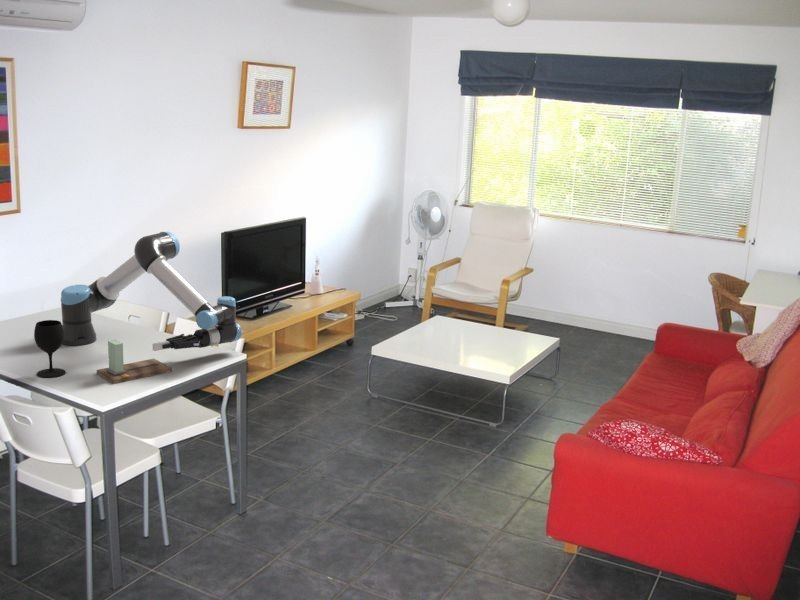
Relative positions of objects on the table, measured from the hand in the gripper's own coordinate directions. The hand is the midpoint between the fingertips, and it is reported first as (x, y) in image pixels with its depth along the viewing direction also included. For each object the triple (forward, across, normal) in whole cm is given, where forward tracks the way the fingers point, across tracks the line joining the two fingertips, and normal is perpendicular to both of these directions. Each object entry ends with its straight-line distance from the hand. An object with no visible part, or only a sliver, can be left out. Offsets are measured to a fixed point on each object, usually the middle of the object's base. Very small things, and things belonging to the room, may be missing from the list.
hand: (153, 347), depth 327 cm
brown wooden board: (+8, 0, -9) cm, 12 cm away
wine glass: (+34, +17, -9) cm, 39 cm away
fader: (+16, 0, -7) cm, 17 cm away
